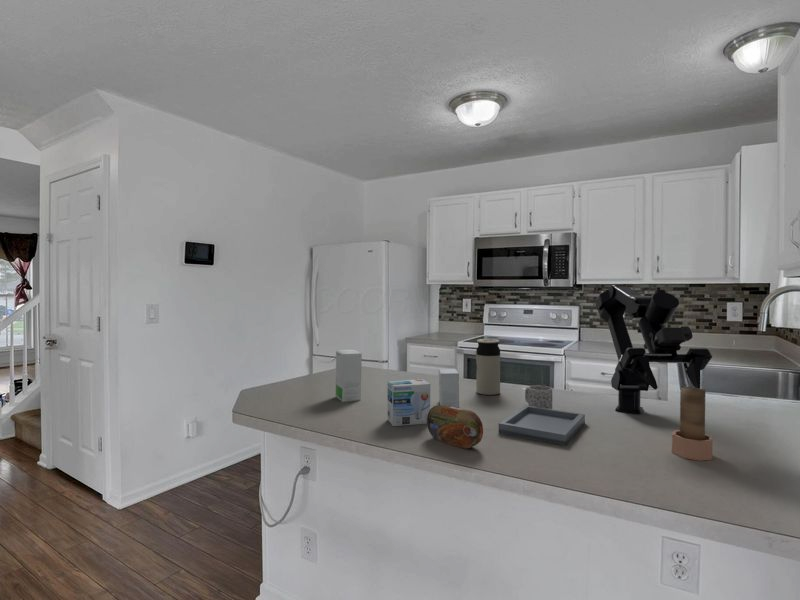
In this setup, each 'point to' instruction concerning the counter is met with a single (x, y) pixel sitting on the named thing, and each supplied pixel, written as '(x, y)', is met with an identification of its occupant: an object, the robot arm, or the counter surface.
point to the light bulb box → (408, 402)
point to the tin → (455, 426)
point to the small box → (449, 387)
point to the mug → (539, 396)
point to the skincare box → (348, 375)
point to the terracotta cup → (692, 447)
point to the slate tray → (543, 424)
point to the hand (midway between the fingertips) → (677, 388)
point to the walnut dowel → (692, 413)
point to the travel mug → (488, 367)
